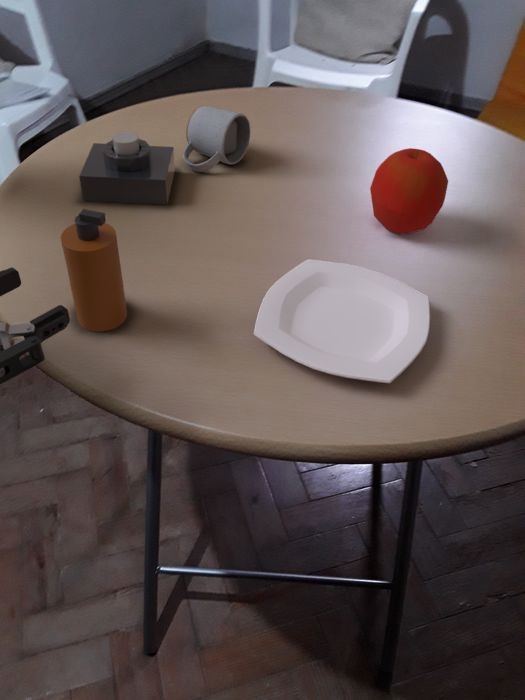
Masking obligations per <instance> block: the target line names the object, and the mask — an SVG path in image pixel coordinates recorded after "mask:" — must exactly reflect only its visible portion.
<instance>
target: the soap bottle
mask: <svg viewBox="0 0 525 700" xmlns="http://www.w3.org/2000/svg"><path fill="white" fill-rule="evenodd" d="M106 218H107V217H106V213H105V212H101V211H96V210H90V209H86V208H82V210H81V211H80V212H79V213H78V215H76V217H74V223H73V224H71V225H69V226H67V227H66V228H65V229H64V230H63V231H62V232H61V235H60V242H61V247H62V252H63V257H64V261H65V267H66V270H67V275H68V280H69V285H70V290H71V294H72V299H73V303H74V308H75V313H76V318H77V321H78V323H79V325H80V326H81V327H82V328H83V329H85V330H87V331H90V332H98V333H99V332H107V331H112V330H115V329H116V328H118V327H120V326H121V325H122V324H123V323H124V322H125V321H126V319H127V317H128V309H127V301H126V295H125V287H124V281H123V272H122V265H121V258H120V251H119V243H118V235H117V230H116V229H115V228H114V227H113V225H111V224H109V223H107V219H106Z"/></svg>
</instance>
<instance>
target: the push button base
mask: <svg viewBox="0 0 525 700" xmlns="http://www.w3.org/2000/svg"><path fill="white" fill-rule="evenodd" d="M139 148H140V151H139V152H137V153H136V154H131V155H120V154H117V153H115V152H114V146H113V139H111V140H109V141H108V142H106V143H100V142H99V143H98V142H94V143H93V144H92V145H91V148H90V150H89V153H88V155H87V157H86V160H85V162H84V164H83V166H82V168H81V171H80V173H79V176H78V179H79V183H80V189H81V190H80V191H81V195H82V200H83V201H82V202H93V203H115V204H134V205H135V204H136V205H137V204H138V205H160V206H168V203H169V198H170V195H171V190H172V185H173V180H174V176H175V172H176V168H175V167H176V166H175V152H174V150H175V149H174V146H161V145H150V144H149V143H148V141H146V140H143V139H141V138H139Z"/></svg>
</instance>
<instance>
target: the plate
mask: <svg viewBox="0 0 525 700" xmlns="http://www.w3.org/2000/svg"><path fill="white" fill-rule="evenodd" d="M430 326H431V308H430V298H429V296H428V295H427V294H424V293H422V292H421V291H419V290H417V289H415V288H413V287H411V286H410V285H408V284H406V283H404V282H403V281H400V280H398V279H396V278H394V277H392V276H389V275H387V274H385V273H382V272H379V271H377V270H374V269H370V268H367V267H363V266H360V265H354V264H349V263H344V262H343V263H342V262H336V261H328V260H321V259H320V260H319V259H310V258H307V259H306V260H304V261H302V262H301V263H299V264H298V265H297V266H295V267H293V268H292V269H291V270H289V271H288V272H286V273H285V274H284V275H282V276H281V277H279V279H278V280H276V281H275V282H274V283H273V284H272V286H270V287H269V288H268V290H267V292H266V293H265V295H264V296H263V298H262V301H261V303H260V306H259V309H258V313H257V317H256V319H255V325H254V330H253V336H255V338H257V339H259V340H261V341H262V342H263V343H265V344H266V345H268V346H269V347H271V348H272V349H274V350H276V351H277V352H278V353H280V354H282V355H283V356H285V357H286V358H289V359H290V360H292V361H294V362H296V363H298V364H300V365H302V366H304V367H307V368H310V369H312V370H314V371H318V372H320V373H324V374H328V375H331V376H336V377H342V378H345V379H351V380H360V381H367V382H374V383H381V384H391V383H392V382H394V380H395V379H397V378H398V377H399V376H400V375H401V374H403V372H404V371H405V370H406V369H407V368H408V367H409V366H410V365H411V364H412V363H413V362H414V360H415V359H416V358H417V357H418V356H419V354H421V351H422V350H424V349H423V348H424V347H425V345H426V344H427V342H428V338H429V334H430Z"/></svg>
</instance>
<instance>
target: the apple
mask: <svg viewBox="0 0 525 700" xmlns="http://www.w3.org/2000/svg"><path fill="white" fill-rule="evenodd" d="M448 186H449V179H448V177H447V174H446V172H445V169H444V167H443V165H442V163H441V162H440V161H439V160H438V159H437V158H436V157H435V156H434V155H433V154H431V152H429V151H426V150H425V149H420V148H413V147H412V148H402V149H400V150H397V151H395V152H393V153H391V154H389V156H388V157H386V158H385V159H384V160H383V161H382V162H381V163H380V164H379V165H378V167H377V169H376V170H375V173H374V176H373V179H372V181H371V184H370V187H369V189H370V199H371V205H372V211H373V217H374V218H375V219H376V220H377V222H379V224H380V225H381V226H383V227H384V228H385V229H386V230H387V231H389V232H391V233H393V234H398V235H405V234H410V233H415V232H418V231H422V230H425V229H427V228H428V227H429V226H430V225H432V224H433V222H434V220H435V219H436V217H437V216H438V214H439V213H440V211H441V210H442V208H443V207H444V206H443V205H444V203H445V200H446V196H447V191H448Z"/></svg>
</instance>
